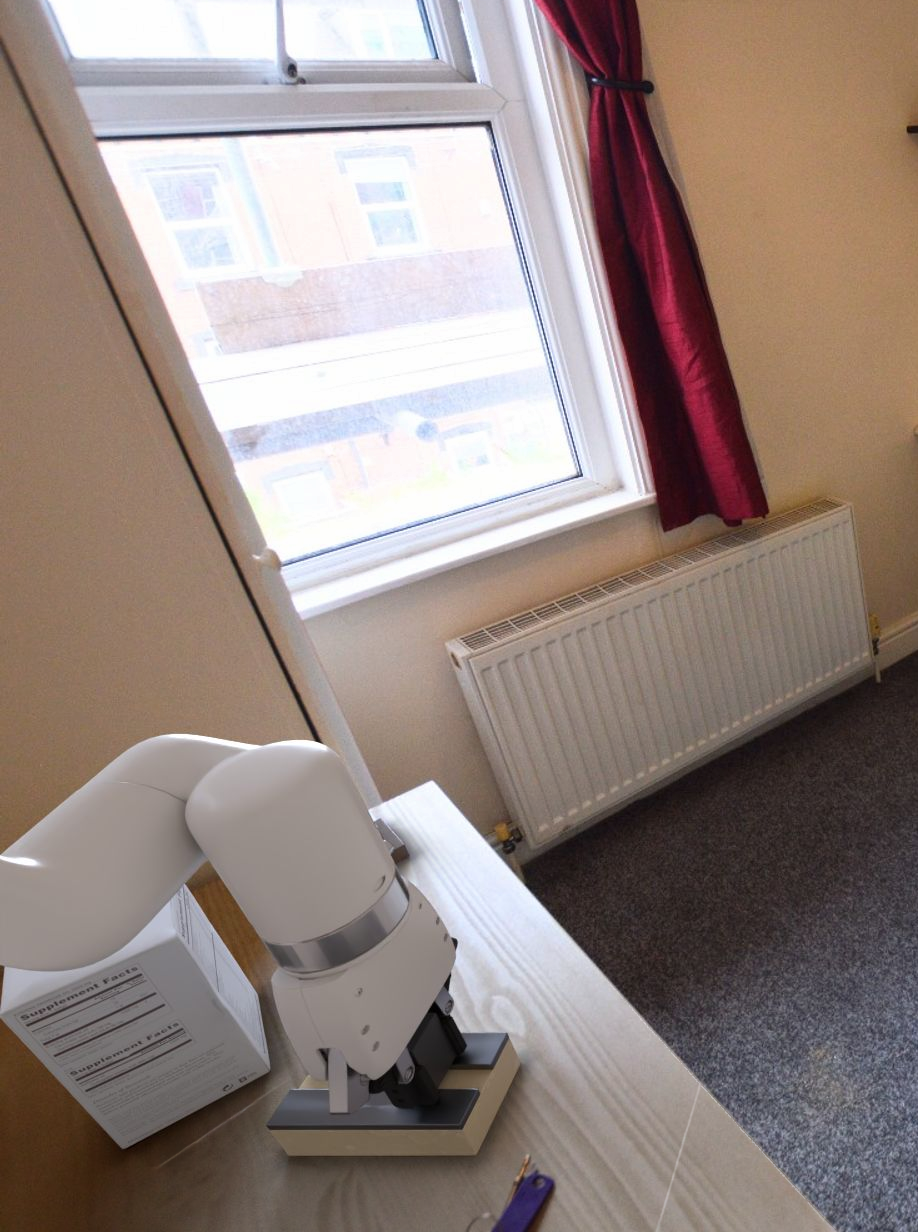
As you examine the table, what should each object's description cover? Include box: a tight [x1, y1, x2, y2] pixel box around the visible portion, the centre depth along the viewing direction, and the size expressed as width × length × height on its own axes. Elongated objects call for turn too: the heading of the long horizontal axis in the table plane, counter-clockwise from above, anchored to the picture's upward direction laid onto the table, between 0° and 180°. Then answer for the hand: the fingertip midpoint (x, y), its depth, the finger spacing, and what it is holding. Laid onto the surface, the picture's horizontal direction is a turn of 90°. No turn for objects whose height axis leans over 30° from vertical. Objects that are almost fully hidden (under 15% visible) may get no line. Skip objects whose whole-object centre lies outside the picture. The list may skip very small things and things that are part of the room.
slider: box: [406, 1013, 456, 1089], centre depth 64 cm, size 2×3×6 cm
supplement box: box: [0, 883, 271, 1150], centre depth 66 cm, size 10×9×17 cm
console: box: [265, 1031, 521, 1157], centre depth 66 cm, size 14×7×4 cm, turn 90°
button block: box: [373, 817, 411, 865], centre depth 87 cm, size 8×6×4 cm
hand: (431, 1074), depth 65 cm, fingers closed on slider, 3 cm apart
